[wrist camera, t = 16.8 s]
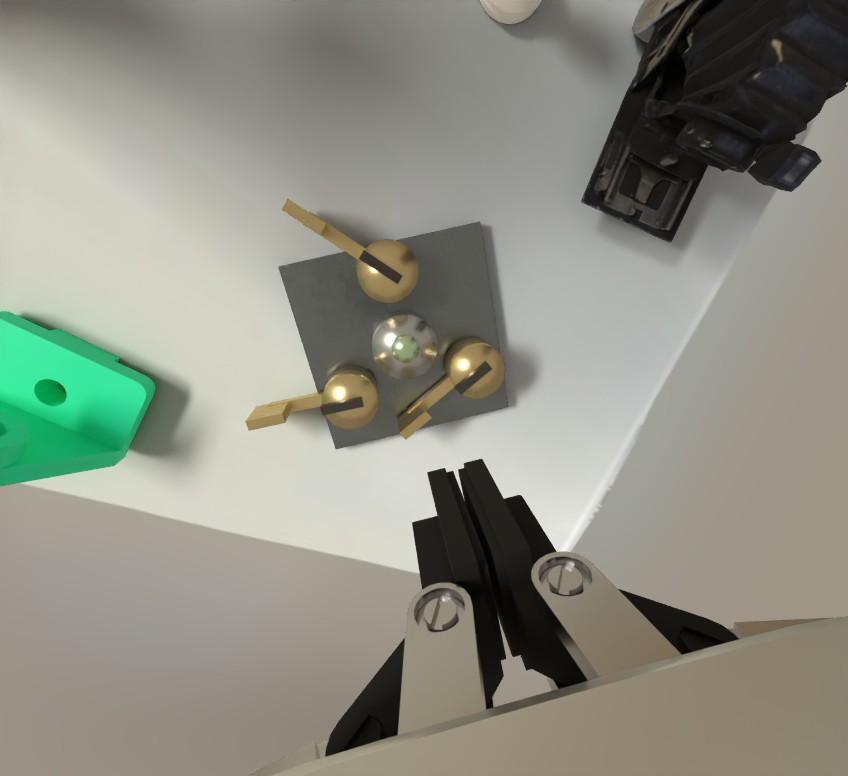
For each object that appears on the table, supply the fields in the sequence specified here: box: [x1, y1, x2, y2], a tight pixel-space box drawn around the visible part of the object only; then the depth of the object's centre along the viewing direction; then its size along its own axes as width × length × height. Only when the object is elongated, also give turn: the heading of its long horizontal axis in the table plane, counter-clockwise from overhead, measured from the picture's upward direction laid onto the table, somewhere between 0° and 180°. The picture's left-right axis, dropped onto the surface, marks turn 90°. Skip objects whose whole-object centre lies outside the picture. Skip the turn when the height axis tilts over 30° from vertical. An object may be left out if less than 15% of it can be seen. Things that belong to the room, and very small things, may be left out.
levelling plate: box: [279, 222, 508, 449], centre depth 34 cm, size 16×16×4 cm
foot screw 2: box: [246, 366, 378, 430], centre depth 34 cm, size 10×4×4 cm, turn 100°
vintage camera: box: [581, 0, 848, 243], centre depth 24 cm, size 10×15×20 cm, turn 160°
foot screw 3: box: [397, 338, 505, 439], centre depth 35 cm, size 10×4×4 cm, turn 130°
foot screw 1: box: [282, 199, 418, 303], centre depth 30 cm, size 10×4×4 cm, turn 57°
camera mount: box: [0, 311, 156, 486], centre depth 29 cm, size 12×8×10 cm, turn 58°
